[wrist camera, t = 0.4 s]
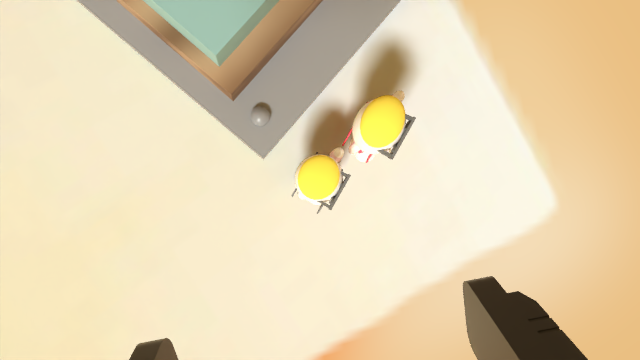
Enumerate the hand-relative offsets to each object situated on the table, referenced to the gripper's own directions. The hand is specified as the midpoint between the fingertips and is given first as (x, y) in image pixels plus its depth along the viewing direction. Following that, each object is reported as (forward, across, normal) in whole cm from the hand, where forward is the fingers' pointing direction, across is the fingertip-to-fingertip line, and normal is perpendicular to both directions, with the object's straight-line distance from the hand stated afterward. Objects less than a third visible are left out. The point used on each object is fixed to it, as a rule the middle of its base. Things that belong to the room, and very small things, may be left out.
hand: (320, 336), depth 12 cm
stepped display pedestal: (+31, +3, -12) cm, 34 cm away
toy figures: (+28, -3, +3) cm, 28 cm away
